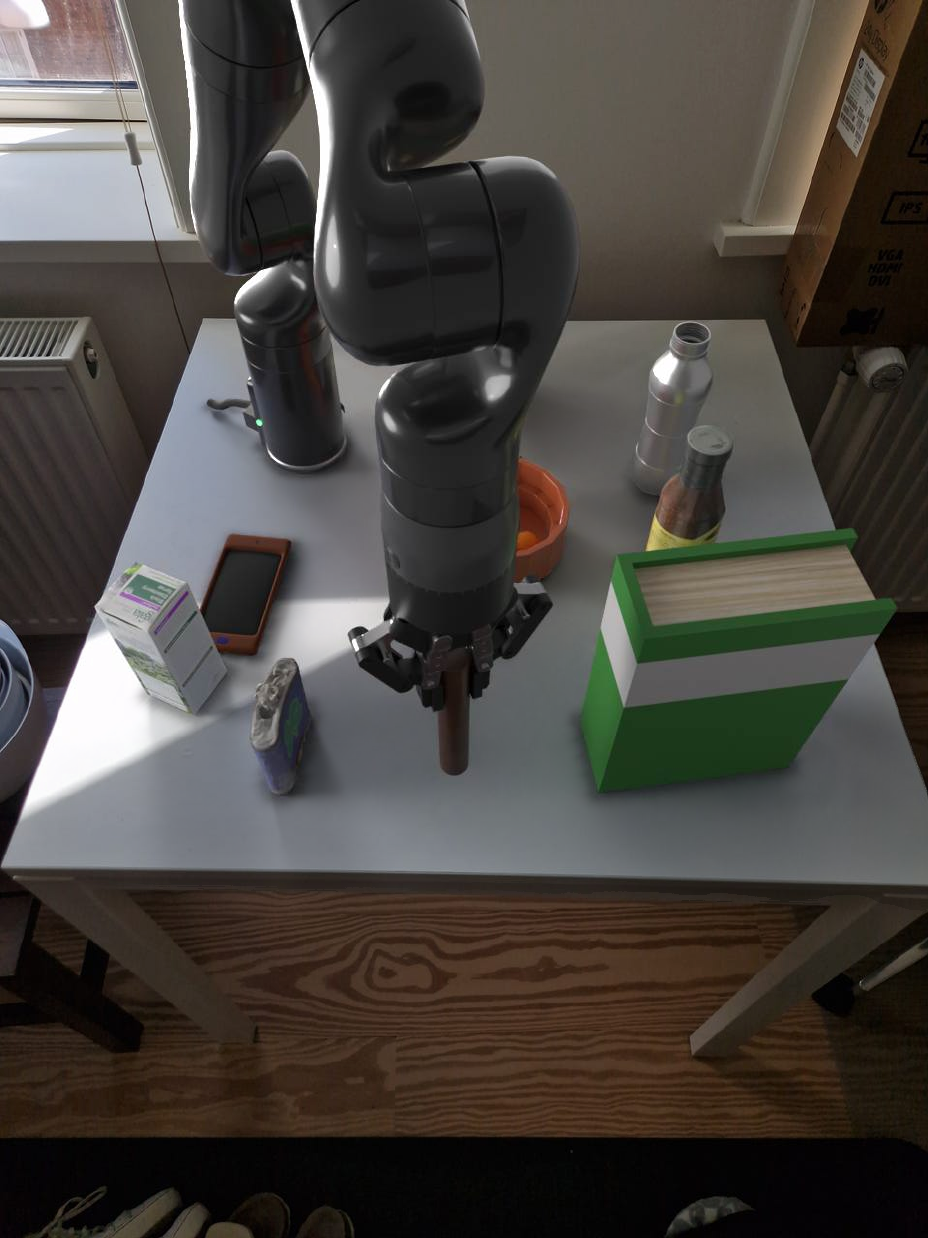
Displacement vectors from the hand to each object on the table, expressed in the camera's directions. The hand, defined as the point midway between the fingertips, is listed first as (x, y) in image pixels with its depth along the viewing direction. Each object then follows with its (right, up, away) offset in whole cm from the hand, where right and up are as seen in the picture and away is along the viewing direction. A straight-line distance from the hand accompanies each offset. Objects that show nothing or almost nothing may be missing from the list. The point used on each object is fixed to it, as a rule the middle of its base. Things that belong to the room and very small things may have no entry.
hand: (452, 694), depth 61 cm
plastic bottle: (+23, +21, +37) cm, 48 cm away
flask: (-15, -7, +17) cm, 24 cm away
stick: (0, -6, +9) cm, 11 cm away
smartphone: (-22, +8, +27) cm, 36 cm away
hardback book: (+21, -6, +17) cm, 28 cm away
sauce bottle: (+22, +9, +28) cm, 37 cm away
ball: (+7, +13, +29) cm, 33 cm away
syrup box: (-26, -1, +21) cm, 33 cm away
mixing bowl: (+5, +14, +32) cm, 35 cm away
